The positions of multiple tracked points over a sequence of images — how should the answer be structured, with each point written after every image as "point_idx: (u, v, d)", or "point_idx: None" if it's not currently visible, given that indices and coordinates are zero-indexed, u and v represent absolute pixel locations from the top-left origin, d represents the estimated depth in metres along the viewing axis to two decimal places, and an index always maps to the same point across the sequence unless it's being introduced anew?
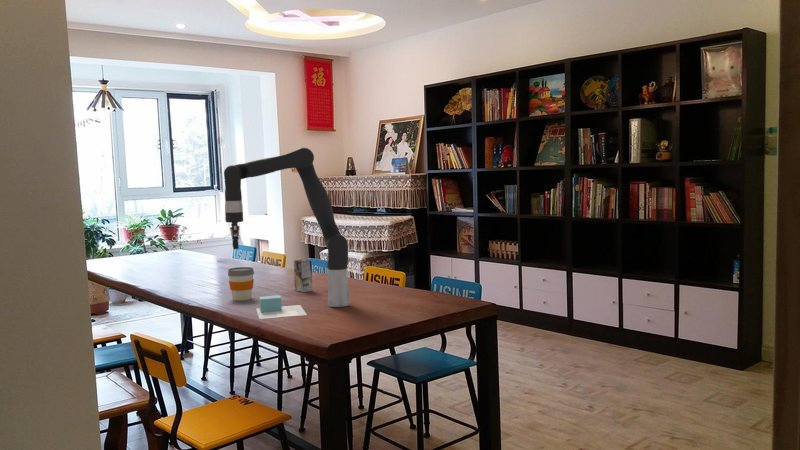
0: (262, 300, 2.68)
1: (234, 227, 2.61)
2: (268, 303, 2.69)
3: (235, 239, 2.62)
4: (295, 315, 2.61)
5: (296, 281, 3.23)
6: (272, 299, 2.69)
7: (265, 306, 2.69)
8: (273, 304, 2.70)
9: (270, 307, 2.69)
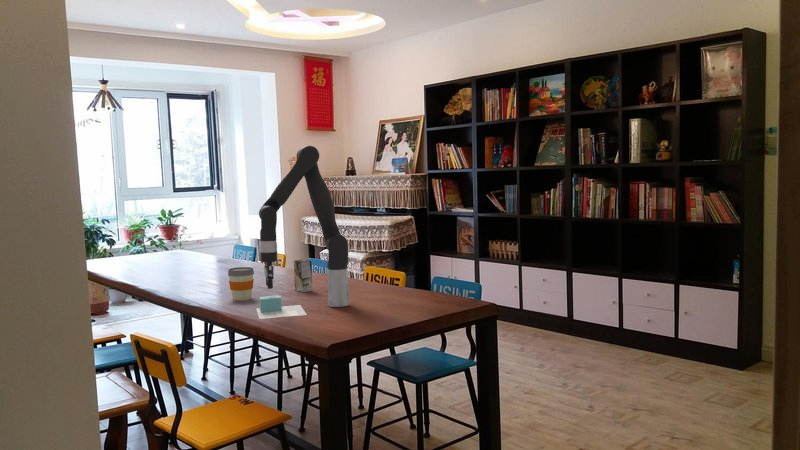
0: (262, 300, 2.68)
1: (269, 267, 2.64)
2: (268, 303, 2.69)
3: (270, 279, 2.65)
4: (295, 315, 2.61)
5: (296, 281, 3.23)
6: (272, 299, 2.69)
7: (265, 306, 2.69)
8: (273, 304, 2.70)
9: (270, 307, 2.69)
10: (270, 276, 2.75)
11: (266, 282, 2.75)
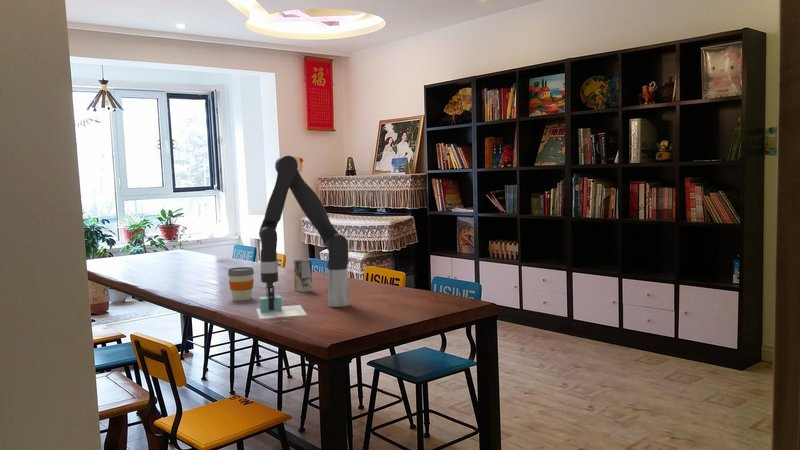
0: (262, 300, 2.68)
1: (270, 290, 2.65)
2: (268, 303, 2.69)
3: (271, 300, 2.67)
4: (295, 315, 2.61)
5: (296, 281, 3.23)
6: None
7: (265, 306, 2.69)
8: None
9: None
10: None
11: None
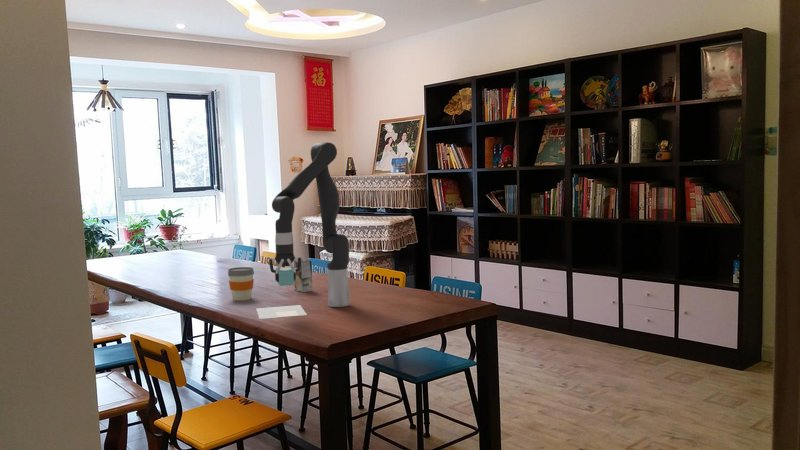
0: None
1: (269, 260, 2.61)
2: None
3: None
4: (295, 315, 2.61)
5: (296, 281, 3.23)
6: None
7: None
8: None
9: None
10: None
11: None
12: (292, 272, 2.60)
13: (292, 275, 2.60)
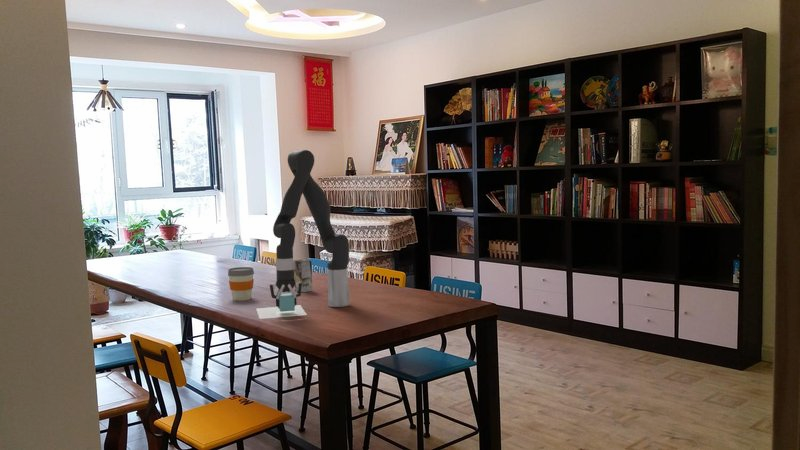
0: None
1: None
2: None
3: (274, 297, 2.62)
4: (295, 315, 2.61)
5: (296, 281, 3.23)
6: (279, 297, 2.62)
7: None
8: (279, 302, 2.62)
9: None
10: None
11: None
12: (293, 298, 2.60)
13: (293, 301, 2.60)
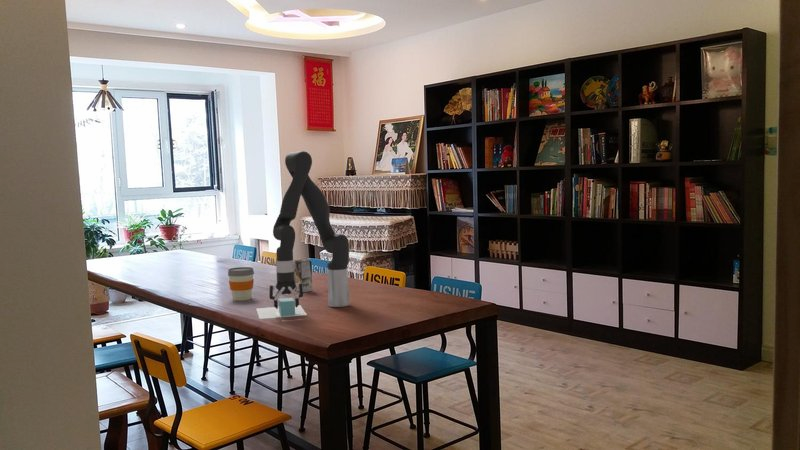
0: None
1: None
2: (279, 305, 2.65)
3: (271, 298, 2.62)
4: (295, 315, 2.61)
5: (296, 281, 3.23)
6: (279, 302, 2.63)
7: (279, 307, 2.66)
8: None
9: (279, 310, 2.64)
10: (296, 298, 2.64)
11: (295, 303, 2.66)
12: (293, 303, 2.61)
13: (293, 306, 2.61)
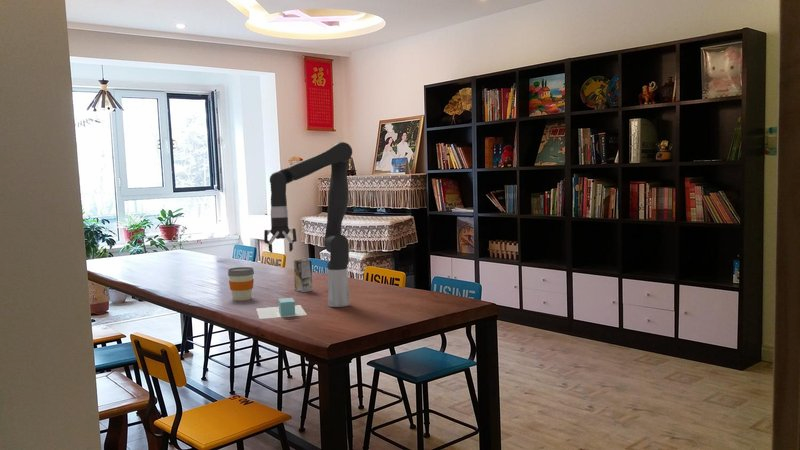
0: None
1: (264, 231, 2.74)
2: (279, 305, 2.65)
3: None
4: (295, 315, 2.61)
5: (296, 281, 3.23)
6: (279, 302, 2.63)
7: (279, 307, 2.66)
8: None
9: (279, 310, 2.64)
10: (290, 242, 2.76)
11: (289, 247, 2.78)
12: (293, 303, 2.61)
13: (293, 306, 2.61)
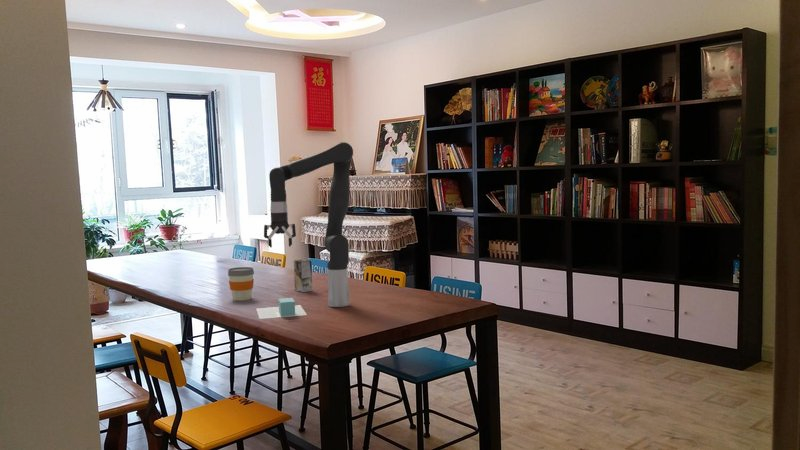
0: None
1: (264, 226, 2.77)
2: (279, 305, 2.65)
3: None
4: (295, 315, 2.61)
5: (296, 281, 3.23)
6: (279, 302, 2.63)
7: (279, 307, 2.66)
8: None
9: (279, 310, 2.64)
10: (289, 237, 2.80)
11: None
12: (293, 303, 2.61)
13: (293, 306, 2.61)
